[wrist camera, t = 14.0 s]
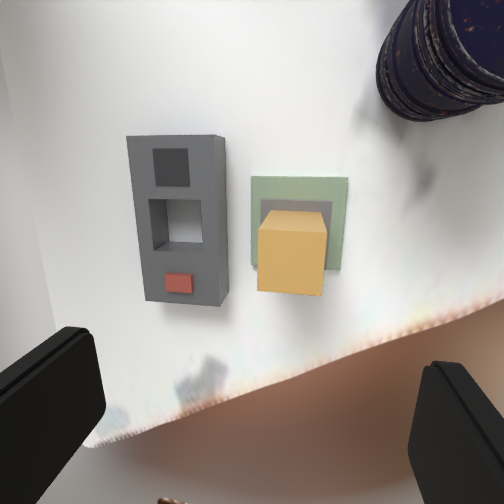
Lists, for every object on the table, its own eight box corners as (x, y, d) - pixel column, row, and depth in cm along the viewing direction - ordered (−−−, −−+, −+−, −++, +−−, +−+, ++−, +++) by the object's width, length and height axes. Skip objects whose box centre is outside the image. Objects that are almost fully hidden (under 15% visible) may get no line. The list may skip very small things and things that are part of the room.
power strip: (146, 138, 33) (122, 135, 29) (224, 137, 32) (212, 134, 28) (160, 286, 39) (142, 303, 34) (228, 291, 37) (218, 309, 33)
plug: (267, 193, 32) (244, 214, 20) (328, 195, 31) (343, 218, 19) (265, 250, 34) (244, 301, 22) (323, 253, 33) (334, 309, 21)
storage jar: (365, 25, 27) (430, -119, 13) (487, -24, 25) (730, -264, 11) (384, 137, 29) (458, 118, 15) (498, 102, 27) (708, 42, 13)
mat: (252, 176, 33) (251, 176, 32) (347, 177, 31) (348, 177, 30) (252, 262, 36) (251, 265, 35) (339, 267, 34) (339, 269, 33)
